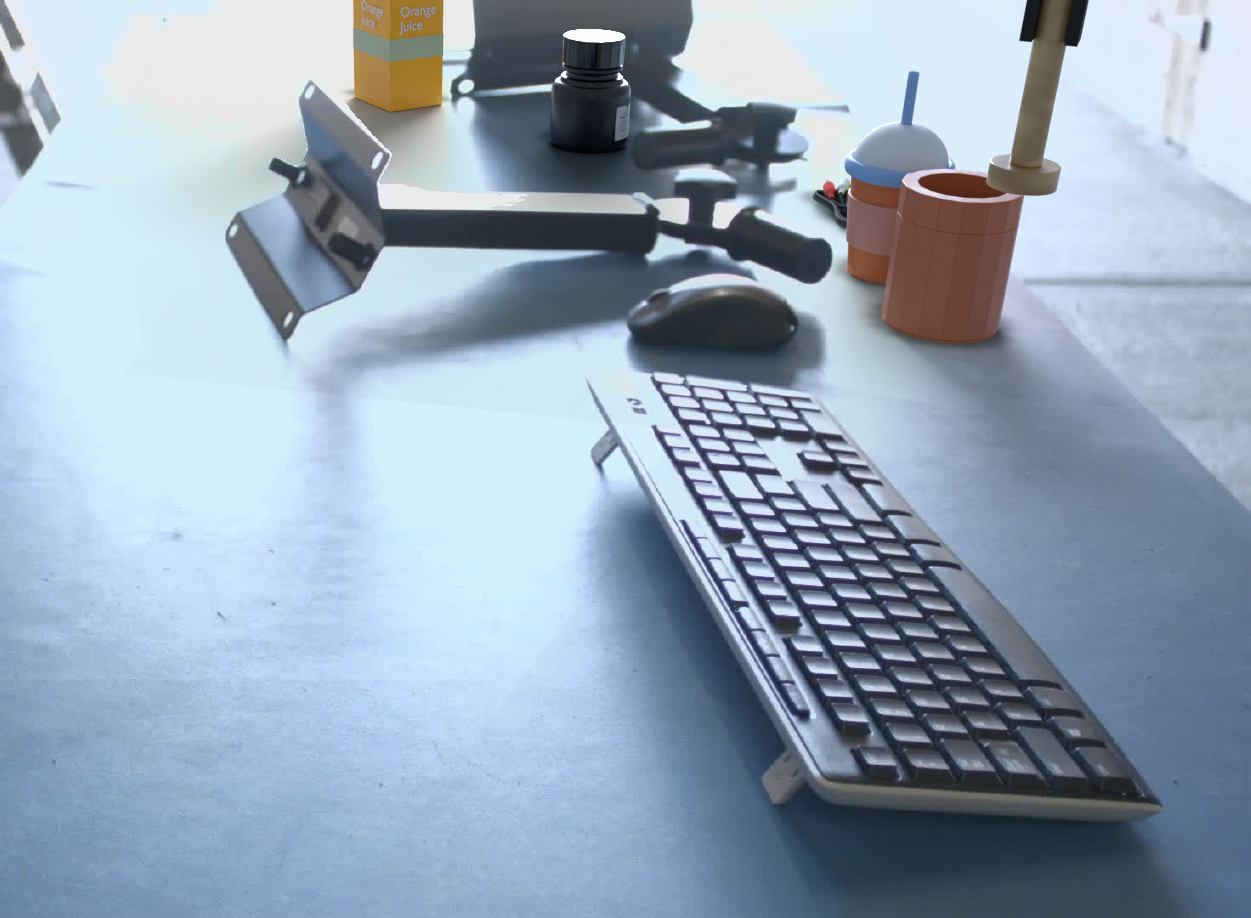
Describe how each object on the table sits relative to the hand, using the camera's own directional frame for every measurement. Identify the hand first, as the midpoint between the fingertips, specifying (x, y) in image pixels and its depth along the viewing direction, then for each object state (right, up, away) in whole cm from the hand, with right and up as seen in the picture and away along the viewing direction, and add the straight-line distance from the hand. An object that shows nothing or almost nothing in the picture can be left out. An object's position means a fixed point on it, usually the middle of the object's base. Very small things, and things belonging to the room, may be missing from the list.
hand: (1050, 39), depth 95 cm
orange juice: (-43, +18, +93) cm, 105 cm away
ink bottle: (-21, +9, +77) cm, 80 cm away
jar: (+2, -16, +28) cm, 32 cm away
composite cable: (+1, -2, +55) cm, 55 cm away
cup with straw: (+1, -11, +38) cm, 40 cm away
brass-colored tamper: (0, -8, +4) cm, 9 cm away
